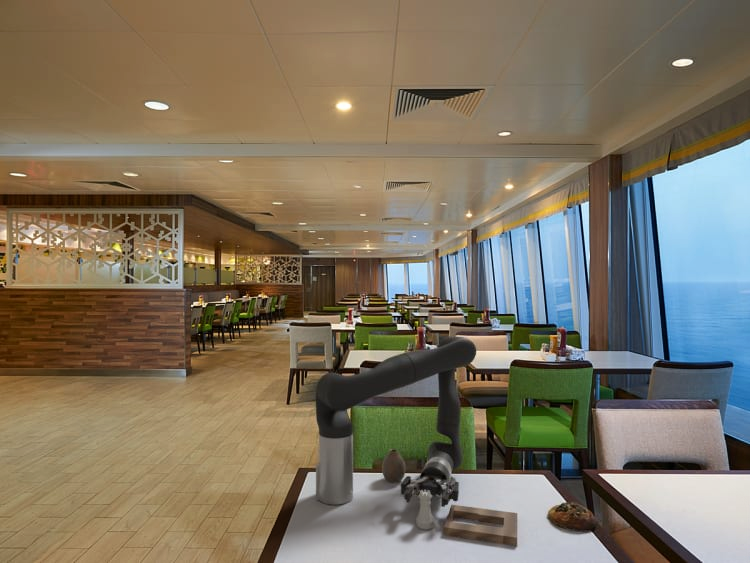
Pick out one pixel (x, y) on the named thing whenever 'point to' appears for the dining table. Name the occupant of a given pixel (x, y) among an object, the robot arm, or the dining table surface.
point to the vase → (393, 467)
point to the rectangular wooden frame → (480, 531)
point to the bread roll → (572, 517)
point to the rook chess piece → (425, 511)
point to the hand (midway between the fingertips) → (425, 500)
